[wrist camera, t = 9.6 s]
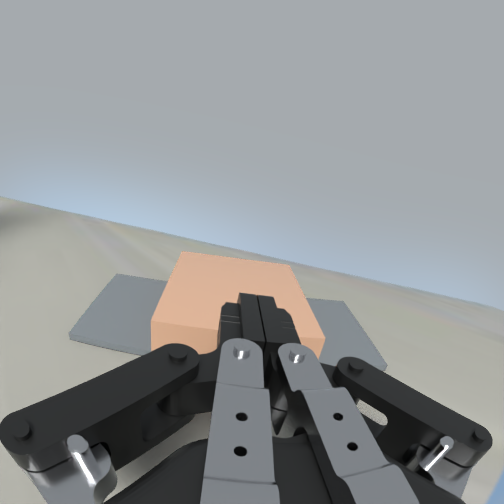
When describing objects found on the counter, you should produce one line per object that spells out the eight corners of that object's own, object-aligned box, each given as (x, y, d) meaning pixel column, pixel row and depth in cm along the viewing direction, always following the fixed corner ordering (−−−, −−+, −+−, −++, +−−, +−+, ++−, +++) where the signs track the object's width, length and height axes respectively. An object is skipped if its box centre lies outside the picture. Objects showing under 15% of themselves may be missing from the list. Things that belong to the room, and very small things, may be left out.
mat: (69, 339, 16) (68, 332, 16) (116, 278, 26) (116, 273, 26) (385, 370, 19) (387, 365, 19) (342, 305, 28) (343, 301, 28)
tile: (150, 320, 15) (182, 251, 27) (151, 356, 16) (179, 277, 27) (325, 338, 16) (289, 264, 28) (313, 372, 17) (283, 290, 29)
